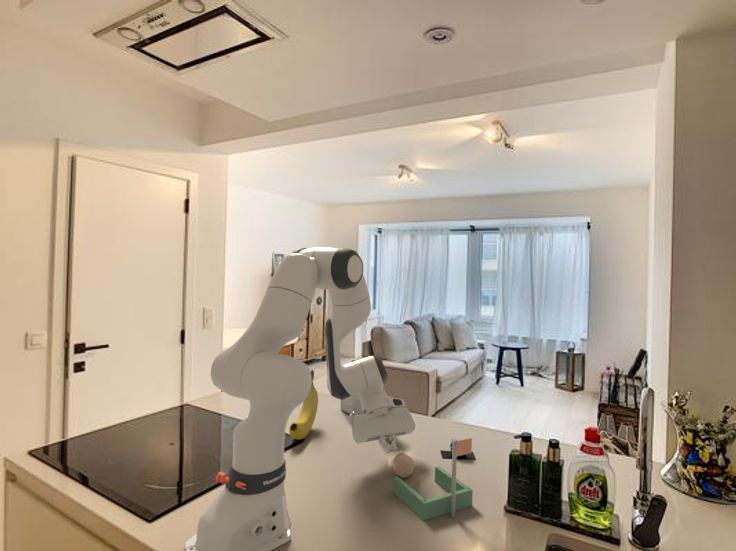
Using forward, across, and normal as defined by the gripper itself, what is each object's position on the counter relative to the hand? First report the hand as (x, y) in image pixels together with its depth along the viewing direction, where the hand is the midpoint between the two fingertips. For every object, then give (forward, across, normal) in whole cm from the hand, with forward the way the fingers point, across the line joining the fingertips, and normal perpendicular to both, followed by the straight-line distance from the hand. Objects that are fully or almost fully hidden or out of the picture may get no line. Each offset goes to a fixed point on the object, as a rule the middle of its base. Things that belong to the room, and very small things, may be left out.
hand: (392, 451), depth 126 cm
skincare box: (-31, +10, +37) cm, 49 cm away
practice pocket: (+18, 0, -12) cm, 21 cm away
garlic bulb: (+8, 0, -1) cm, 8 cm away
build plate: (+5, +23, +2) cm, 23 cm away
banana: (-21, -16, +27) cm, 38 cm away
